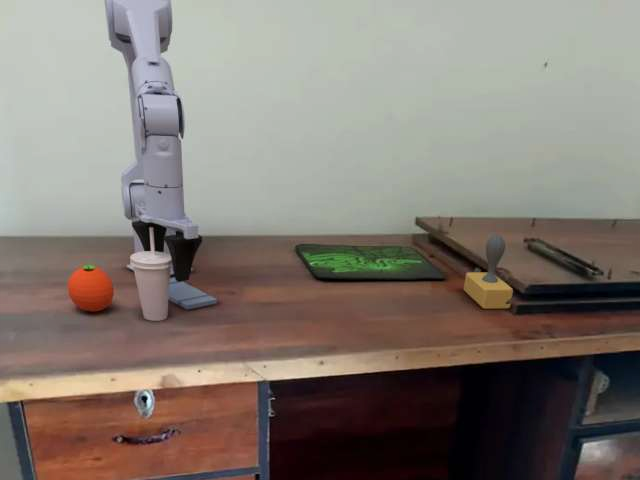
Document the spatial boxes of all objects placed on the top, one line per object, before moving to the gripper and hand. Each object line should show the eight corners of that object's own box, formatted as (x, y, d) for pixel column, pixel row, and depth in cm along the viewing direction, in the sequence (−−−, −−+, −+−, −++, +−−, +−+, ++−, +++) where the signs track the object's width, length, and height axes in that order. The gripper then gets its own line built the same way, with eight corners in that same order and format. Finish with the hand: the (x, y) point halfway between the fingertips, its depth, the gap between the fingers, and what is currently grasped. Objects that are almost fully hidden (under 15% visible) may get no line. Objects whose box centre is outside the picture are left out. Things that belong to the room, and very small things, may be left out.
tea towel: (175, 281, 140) (174, 277, 140) (217, 303, 133) (217, 298, 132) (145, 287, 136) (145, 282, 136) (187, 309, 129) (186, 305, 129)
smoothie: (183, 314, 127) (179, 227, 119) (161, 326, 122) (155, 236, 114) (149, 307, 129) (142, 220, 121) (126, 318, 123) (118, 229, 116)
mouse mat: (412, 248, 172) (413, 243, 171) (449, 280, 154) (450, 275, 154) (292, 248, 163) (292, 243, 163) (316, 282, 146) (317, 276, 146)
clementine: (72, 300, 128) (66, 257, 124) (116, 300, 130) (112, 258, 126) (69, 318, 122) (63, 273, 118) (115, 317, 123) (110, 273, 120)
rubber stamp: (510, 308, 144) (523, 243, 137) (482, 309, 142) (493, 243, 136) (489, 290, 152) (500, 228, 145) (462, 290, 150) (472, 227, 144)
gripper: (114, 175, 118) (122, 264, 125) (167, 197, 110) (172, 290, 117) (155, 172, 122) (160, 258, 129) (208, 192, 114) (211, 283, 121)
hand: (169, 273), depth 124 cm, fingers open, 7 cm apart
